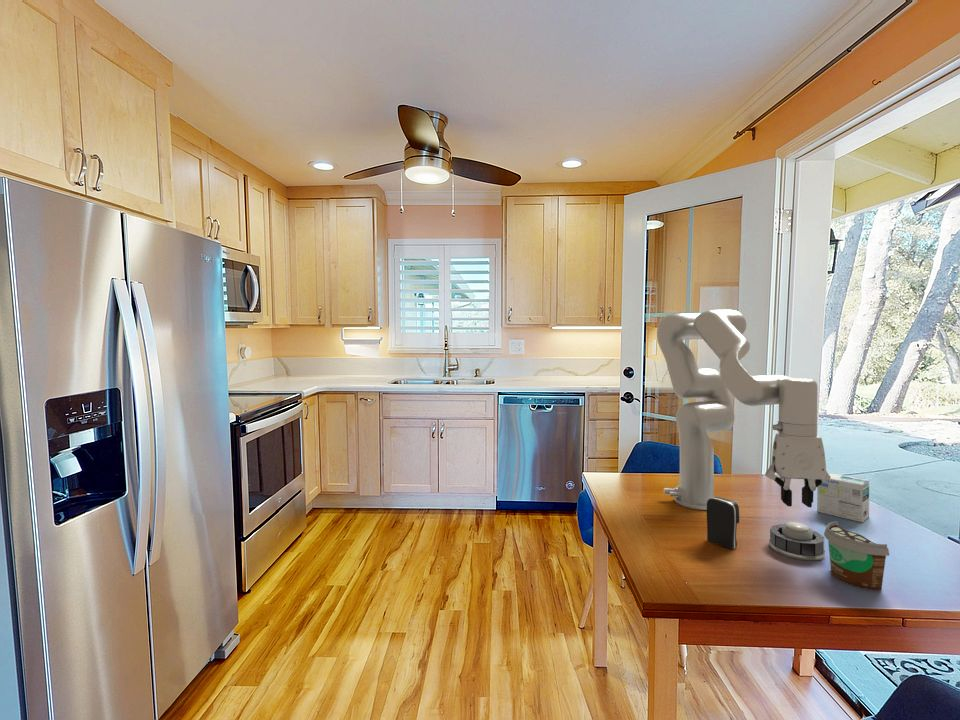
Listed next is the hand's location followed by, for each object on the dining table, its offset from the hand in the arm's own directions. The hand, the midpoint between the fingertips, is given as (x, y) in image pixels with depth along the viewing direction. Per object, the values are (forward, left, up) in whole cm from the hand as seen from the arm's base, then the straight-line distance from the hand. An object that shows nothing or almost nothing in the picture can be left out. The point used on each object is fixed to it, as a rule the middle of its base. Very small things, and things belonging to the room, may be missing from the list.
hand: (796, 504), depth 108 cm
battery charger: (-16, +1, -11) cm, 20 cm away
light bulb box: (+23, +25, -12) cm, 36 cm away
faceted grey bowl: (0, 0, -11) cm, 11 cm away
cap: (0, 0, -10) cm, 10 cm away
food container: (+4, -13, -11) cm, 18 cm away
